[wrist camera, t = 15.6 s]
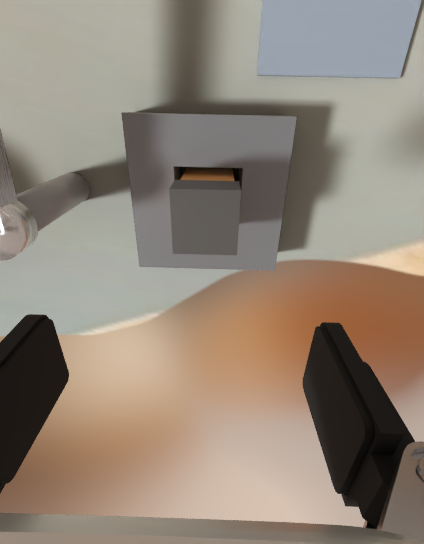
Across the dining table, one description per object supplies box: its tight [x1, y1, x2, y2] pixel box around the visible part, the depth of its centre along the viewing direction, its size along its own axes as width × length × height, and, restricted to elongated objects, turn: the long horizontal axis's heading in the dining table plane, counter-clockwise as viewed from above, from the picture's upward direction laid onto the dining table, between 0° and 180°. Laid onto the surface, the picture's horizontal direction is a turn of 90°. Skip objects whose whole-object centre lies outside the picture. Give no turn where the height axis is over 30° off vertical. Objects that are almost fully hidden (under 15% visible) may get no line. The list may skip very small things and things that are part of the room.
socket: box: [16, 112, 297, 271], centre depth 25 cm, size 22×14×10 cm, turn 89°
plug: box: [169, 168, 241, 255], centre depth 26 cm, size 5×5×10 cm
